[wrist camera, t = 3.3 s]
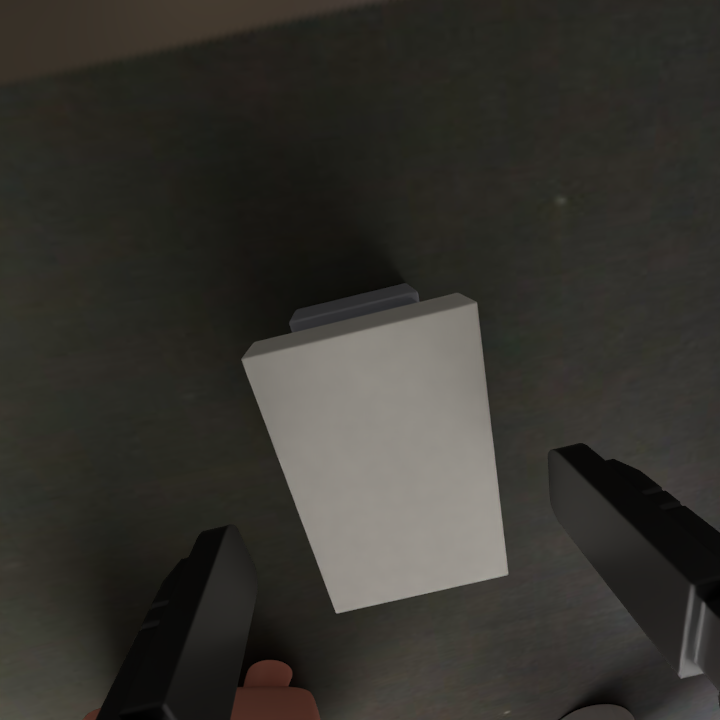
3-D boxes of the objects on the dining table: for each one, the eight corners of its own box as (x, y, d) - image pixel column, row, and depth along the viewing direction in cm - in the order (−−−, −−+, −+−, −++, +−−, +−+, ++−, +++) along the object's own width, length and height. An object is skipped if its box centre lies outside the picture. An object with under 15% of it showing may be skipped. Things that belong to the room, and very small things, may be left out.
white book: (253, 341, 10) (239, 358, 8) (458, 292, 10) (477, 301, 8) (335, 575, 13) (335, 614, 12) (491, 540, 13) (509, 575, 12)
